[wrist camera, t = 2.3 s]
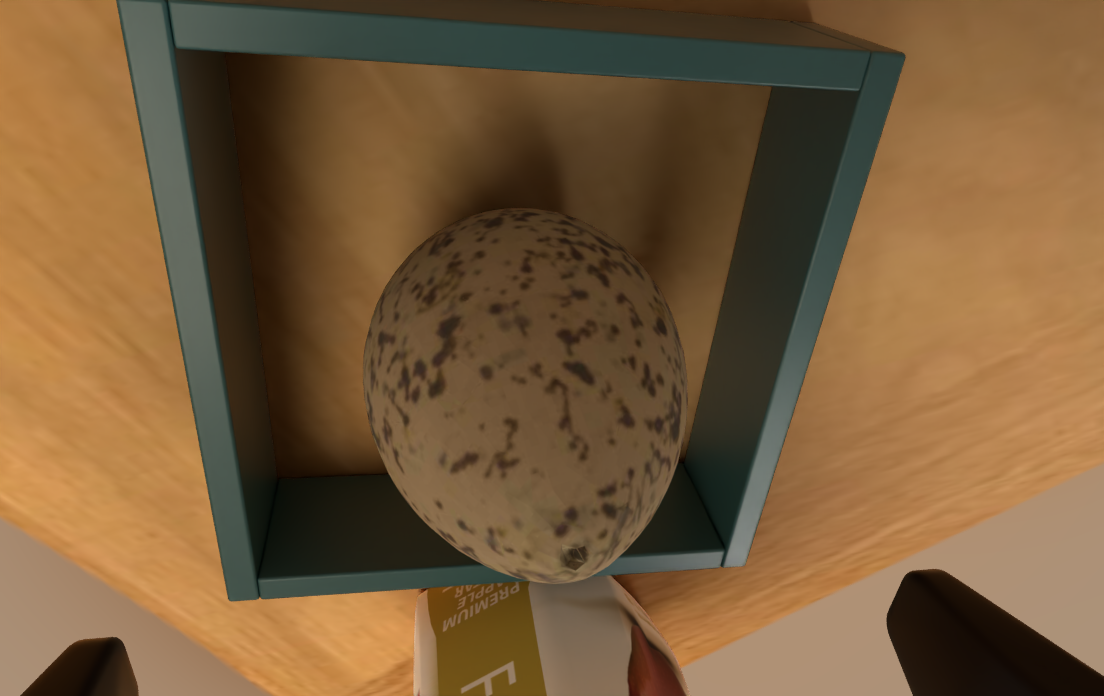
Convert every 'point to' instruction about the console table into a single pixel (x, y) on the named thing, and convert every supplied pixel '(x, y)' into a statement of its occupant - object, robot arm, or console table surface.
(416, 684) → the juice carton
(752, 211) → the frame
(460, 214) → the console table surface
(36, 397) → the console table surface
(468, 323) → the decorative egg
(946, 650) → the robot arm
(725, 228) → the console table surface
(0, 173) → the console table surface
